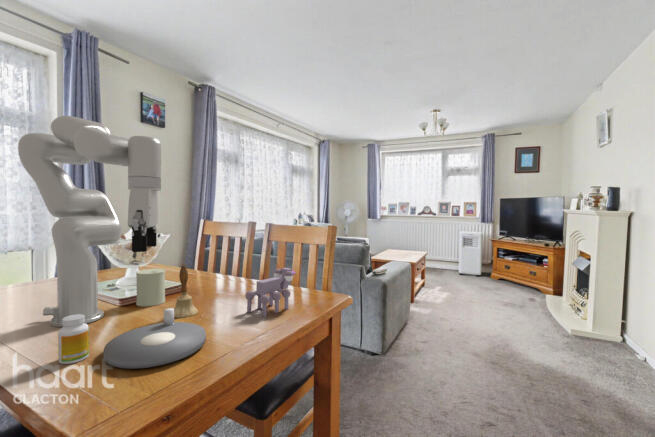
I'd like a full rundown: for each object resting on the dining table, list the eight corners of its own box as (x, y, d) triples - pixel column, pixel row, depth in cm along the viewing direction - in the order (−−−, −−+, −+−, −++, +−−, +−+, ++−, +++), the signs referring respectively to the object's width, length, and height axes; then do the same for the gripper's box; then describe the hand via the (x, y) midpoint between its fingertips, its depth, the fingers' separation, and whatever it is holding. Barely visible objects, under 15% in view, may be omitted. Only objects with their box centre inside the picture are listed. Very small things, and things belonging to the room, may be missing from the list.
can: (144, 308, 105) (144, 273, 104) (130, 303, 110) (130, 270, 109) (170, 301, 113) (170, 269, 112) (156, 297, 117) (156, 266, 117)
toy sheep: (285, 298, 119) (287, 263, 118) (305, 305, 113) (307, 269, 112) (242, 311, 104) (244, 271, 103) (263, 320, 97) (265, 278, 96)
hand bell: (187, 319, 96) (187, 268, 95) (164, 316, 98) (164, 267, 97) (203, 310, 104) (203, 263, 103) (181, 308, 106) (181, 262, 105)
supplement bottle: (94, 356, 72) (93, 315, 71) (66, 367, 67) (66, 323, 66) (81, 351, 74) (80, 311, 74) (53, 361, 69) (52, 318, 69)
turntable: (83, 373, 63) (83, 347, 63) (126, 330, 85) (126, 310, 84) (197, 362, 68) (197, 338, 68) (211, 324, 90) (211, 305, 90)
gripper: (138, 185, 88) (138, 245, 89) (116, 181, 71) (116, 254, 72) (167, 186, 90) (167, 244, 91) (152, 183, 74) (152, 253, 74)
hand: (145, 248), depth 81 cm, fingers open, 9 cm apart
